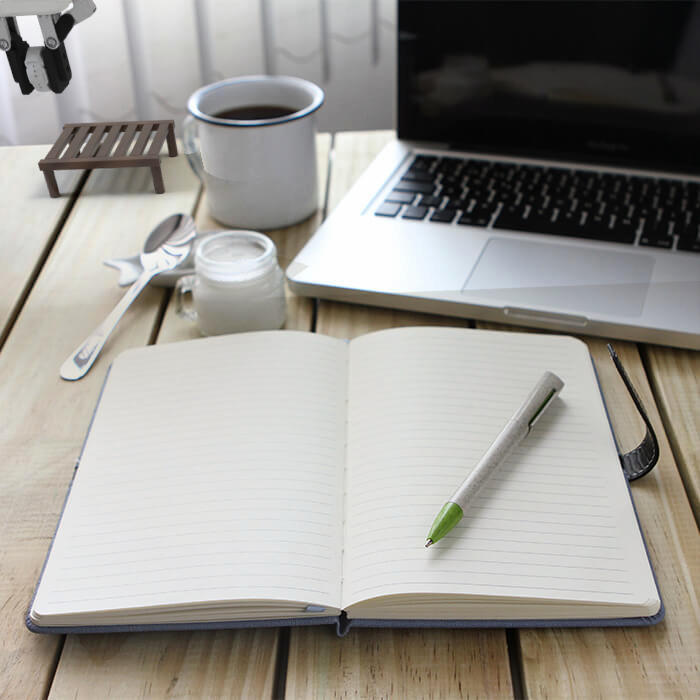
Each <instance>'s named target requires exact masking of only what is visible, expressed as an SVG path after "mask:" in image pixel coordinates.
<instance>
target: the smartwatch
mask: <svg viewBox="0 0 700 700" xmlns="http://www.w3.org/2000/svg"><path fill="white" fill-rule="evenodd" d="M44 48H45V45H37V46H30V47H29V48H28V51H27V54H26V60H25V65H26V67H27V69H26V71H27V75H28V78H29V81H30V83H31V84H33V86H34V88H35V89H34V90H36V92H39V93H40V92H41V93H45V92H46V93H47V92H52V89H51V85H50V81H49V78H48V74H47V71H46V67H45V63H44V60H43V56H42V51H43V49H44Z"/></svg>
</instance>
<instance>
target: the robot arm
mask: <svg viewBox="0 0 700 700" xmlns="http://www.w3.org/2000/svg"><path fill="white" fill-rule="evenodd" d="M70 4H72V7H71V8H70V9H68V8H69V6H70ZM65 10H66V11H65ZM63 11H64V13H63ZM96 12H97V5H96V3H95V2H94V0H0V51H3V52H5V55H6V59H7V63H8V65H9V69H10V72H11V76H12V78H13V81H14V82H15V83H16V84H18V86H19V89H20V93H21V94H22V96H29V95H31V94H32V93H33V92H34V91H35V90H36V89H35V88H34V86H33V84H31V83H30V81H29V78H28V75H27V71H26V69H27V67H26V65H25V60H26V54H27V51H28V48H29V47H31V46H30V43H28V41H27V40H23V39H24V38H23V36H21V35H22V34H21V32H20V28H19V23H18V20H17V17H26V16H27V17H28V16H29V17H30V16H36V18H37V21H38V25H39V29H40V31H41V34H42V37H43V44H44V45H43V46H45V48H44V49H43V51H42V56H43V60H44V63H45V67H46V71H47V74H48V78H49V81H50V85H51V89H52V91H51V92H52V93H54V94H55V95H62V93H64V91H65V90H66V89H67V88H68V86H69V85H70V81H71V80H72V78H73V71H72V68H71V64H70V60H69V56H68V52H67V48H66V45H65V40H66V39H67V37H68V36H69V34H70V33H71V31H72V30H73V28H74V27H75V26H76V25H79V24H80V23H82V22H84V21H86V20H87V19H89V18H90V17H93V15H94V14H95V13H96Z"/></svg>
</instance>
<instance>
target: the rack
mask: <svg viewBox="0 0 700 700" xmlns="http://www.w3.org/2000/svg"><path fill="white" fill-rule="evenodd" d="M175 128H176V123H175V119H154V120H130V121H129V120H128V121H108V122H107V121H103V122H77V123H64V125H63V126H62V132H61V133H60V135H59V136H58V138H57V139H56V141H55V142H54V143H53V145H52V147H51V148H50V149H49V151H48V153H47V154H46V155H45V157H44V158H41V159H39V161H38V162H37V165H38V169H39V171H40V172H42V174H43V177H44V180H45V184H46V188H47V191H48V194H49V197H50V198H51V199H56V198H59V197H60V196H61V192H60V188H59V185H58V181H57V178H56V177H57V176H56V174H55V171H76V170H77V171H79V170H99V169H101V170H102V169H128V168H149V170H150V175H151V180H152V185H153V188H154V189H153V190H154V193H155V194H158V195H160V194H164V193H165V192H166V187H165V183H164V182H165V181H164V178H163V173H162V167H161V164H162V158H161V155H160V154H161V152H162V148H163V146H164V143H165V141H166V146H167V147H166V148H167V152H168V156H169V157H174V158H175V157H178V155H179V151H178V150H179V149H178V145H177V140H176V139H177V138H176V133H175ZM138 132H139V135H138V136H137V139H136V141H135V143H134V145H133V147H132V149H131V151H130V154H129V155H127V154H128V152H129V149H130V147H131V145H132V143H133V141H134V140H135V137H136V135H137V133H138ZM153 132H155V135H154V137H153V139H152V141H151V144H150V146H149V148H148V151H147V152H146V154H144V152H145V150H146V148H147V147H148V146H147V145H148V144H149V141H150V139H151V137H152V134H153ZM122 133H123V134H122ZM90 134H91V136H90ZM106 134H107V135H106ZM121 134H122V137H121V138H120V136H121ZM105 135H106V137H105V138H104V136H105ZM89 136H90V137H89ZM88 137H89V139H88ZM103 138H104V140H103ZM119 138H120V141H119V143H118V144H117V146H116V148H115V150H114V152H113V153H112V151H113V149H114V147H115V145H116V143H117V142H118V139H119ZM87 139H88V140H87ZM86 140H87V141H86ZM102 140H103V142H102ZM85 142H86V144H85ZM101 142H102V144H101ZM84 144H85V145H84ZM100 144H101V146H100V147H99V145H100ZM67 146H68V147H67ZM83 146H84V147H83ZM66 147H67V148H66ZM82 147H83V149H82ZM98 147H99V150H98V151H97V153H96V155H95V156H94V154H95V152H96V150H97V149H98ZM65 148H66V149H65ZM81 149H82V150H81ZM63 152H64V153H63ZM62 153H63V154H62ZM111 153H112V156H111ZM61 155H62V156H61ZM60 156H61V157H60Z"/></svg>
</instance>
